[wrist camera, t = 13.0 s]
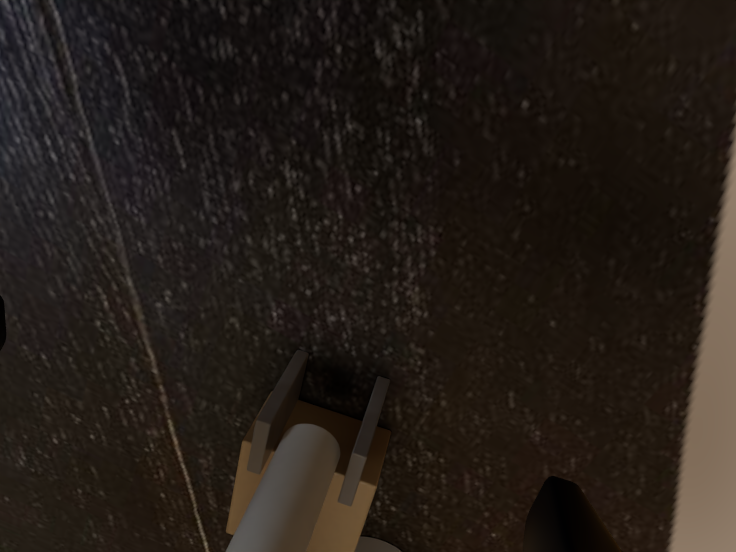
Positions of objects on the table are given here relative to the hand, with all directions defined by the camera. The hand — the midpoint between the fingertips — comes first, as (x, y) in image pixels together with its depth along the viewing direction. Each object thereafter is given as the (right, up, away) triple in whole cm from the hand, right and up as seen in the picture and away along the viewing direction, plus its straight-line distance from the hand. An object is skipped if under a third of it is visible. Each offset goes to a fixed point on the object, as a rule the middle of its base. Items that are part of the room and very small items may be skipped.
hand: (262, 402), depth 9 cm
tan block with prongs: (0, -4, +15) cm, 15 cm away
